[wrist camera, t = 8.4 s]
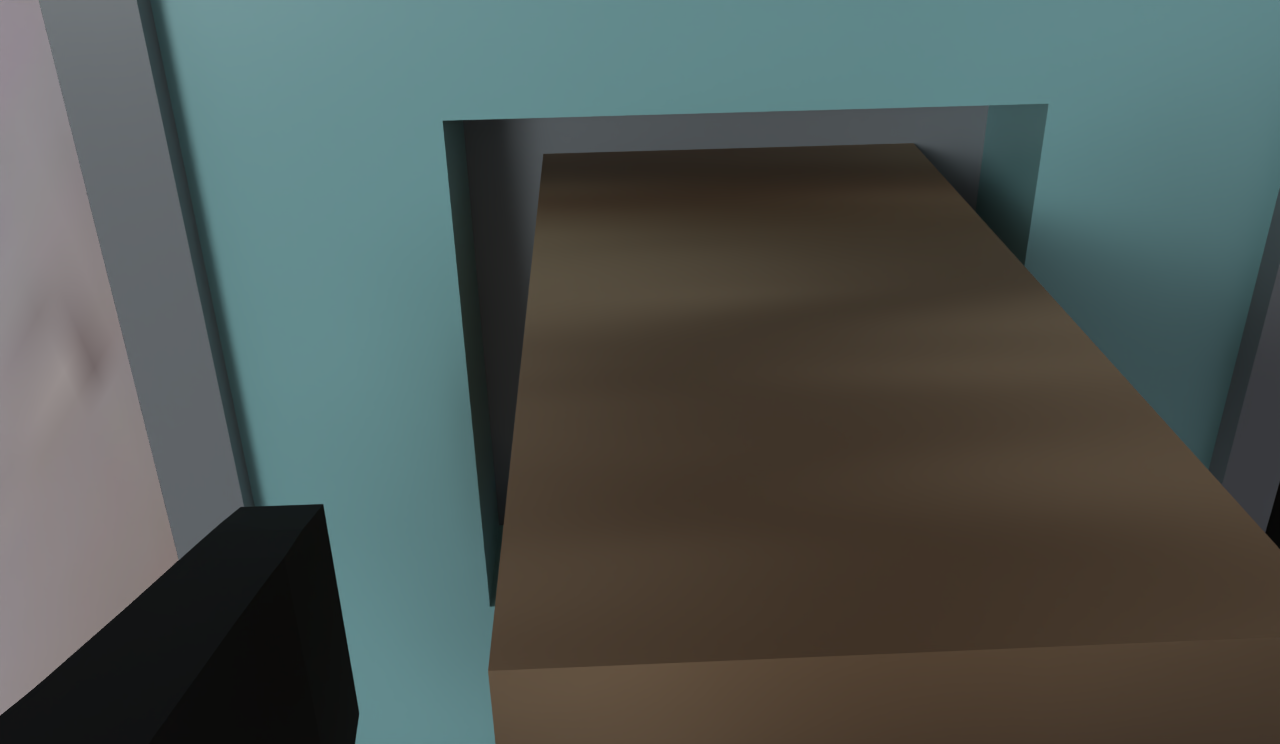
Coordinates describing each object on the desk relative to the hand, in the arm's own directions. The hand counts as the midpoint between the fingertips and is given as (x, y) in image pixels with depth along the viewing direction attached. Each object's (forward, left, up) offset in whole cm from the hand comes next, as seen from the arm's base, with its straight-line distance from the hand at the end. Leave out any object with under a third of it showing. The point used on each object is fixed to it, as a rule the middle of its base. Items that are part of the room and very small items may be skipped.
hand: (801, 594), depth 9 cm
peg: (0, 0, -5) cm, 5 cm away
